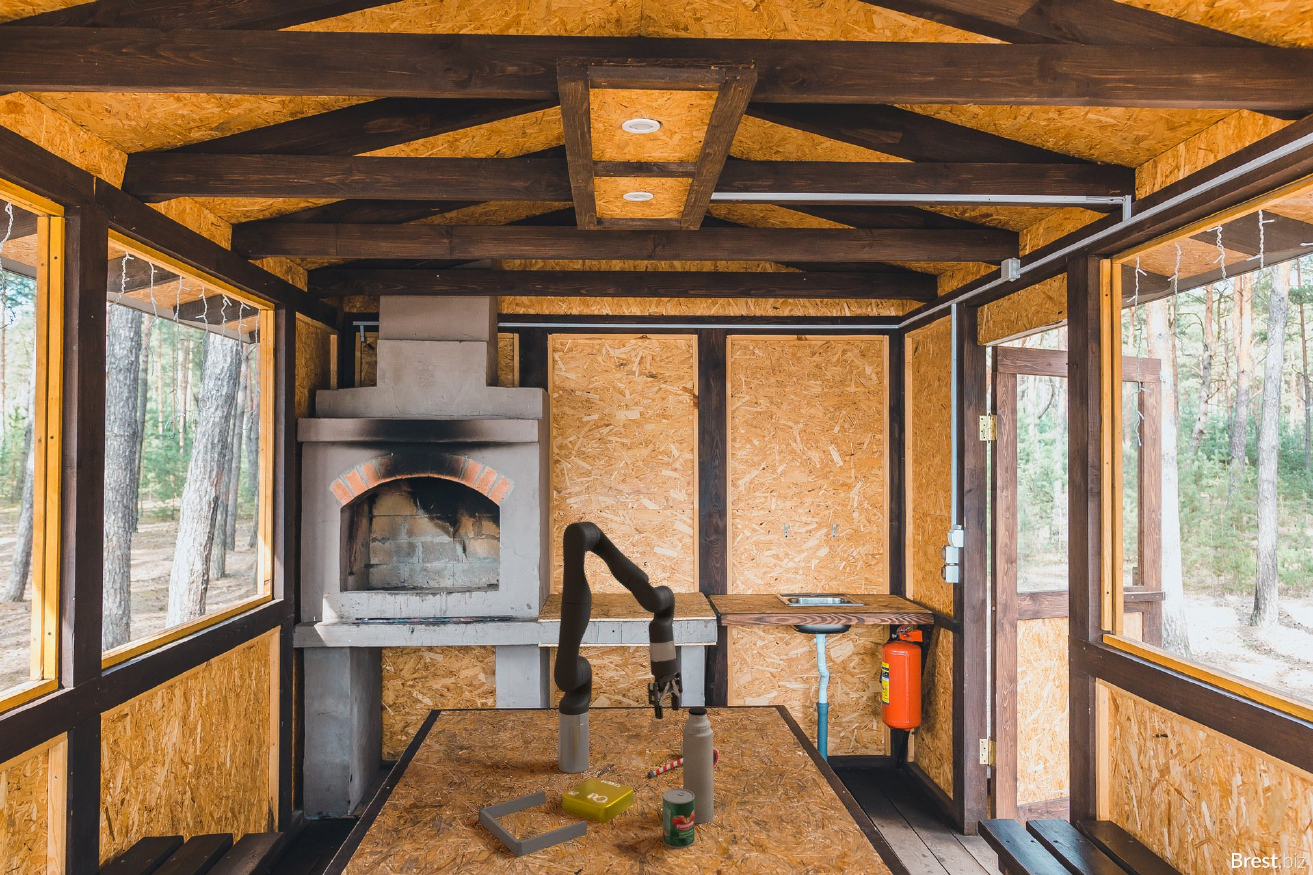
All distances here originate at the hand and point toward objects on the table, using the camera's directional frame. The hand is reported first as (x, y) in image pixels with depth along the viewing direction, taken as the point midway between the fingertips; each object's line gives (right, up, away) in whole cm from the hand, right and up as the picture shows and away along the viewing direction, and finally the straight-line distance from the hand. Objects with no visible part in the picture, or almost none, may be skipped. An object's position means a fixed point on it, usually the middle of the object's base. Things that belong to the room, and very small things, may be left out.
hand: (667, 714), depth 218 cm
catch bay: (-35, -21, -22) cm, 47 cm away
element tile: (-19, -22, -11) cm, 31 cm away
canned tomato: (+2, -21, -30) cm, 36 cm away
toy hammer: (+6, -23, +16) cm, 28 cm away
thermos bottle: (+8, -21, -17) cm, 28 cm away
